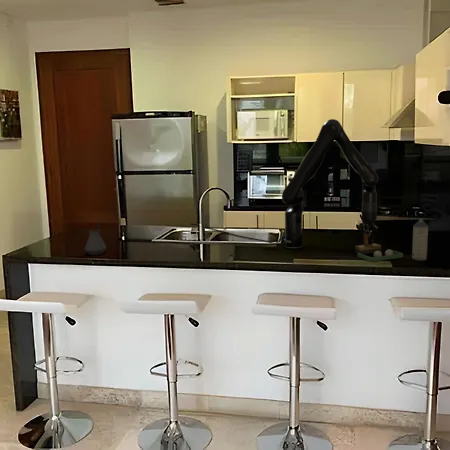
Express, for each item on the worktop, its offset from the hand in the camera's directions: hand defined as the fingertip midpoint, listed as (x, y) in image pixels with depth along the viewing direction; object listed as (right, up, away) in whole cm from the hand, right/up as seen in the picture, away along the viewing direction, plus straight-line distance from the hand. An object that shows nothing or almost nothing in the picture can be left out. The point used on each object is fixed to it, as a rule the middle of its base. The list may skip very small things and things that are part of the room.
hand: (368, 243), depth 275 cm
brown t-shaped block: (0, -5, +1) cm, 5 cm away
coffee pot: (-144, -5, +20) cm, 146 cm away
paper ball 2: (+8, -5, -10) cm, 13 cm away
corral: (+4, -6, -7) cm, 10 cm away
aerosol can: (+21, -7, -14) cm, 26 cm away
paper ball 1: (+2, -5, -11) cm, 12 cm away
